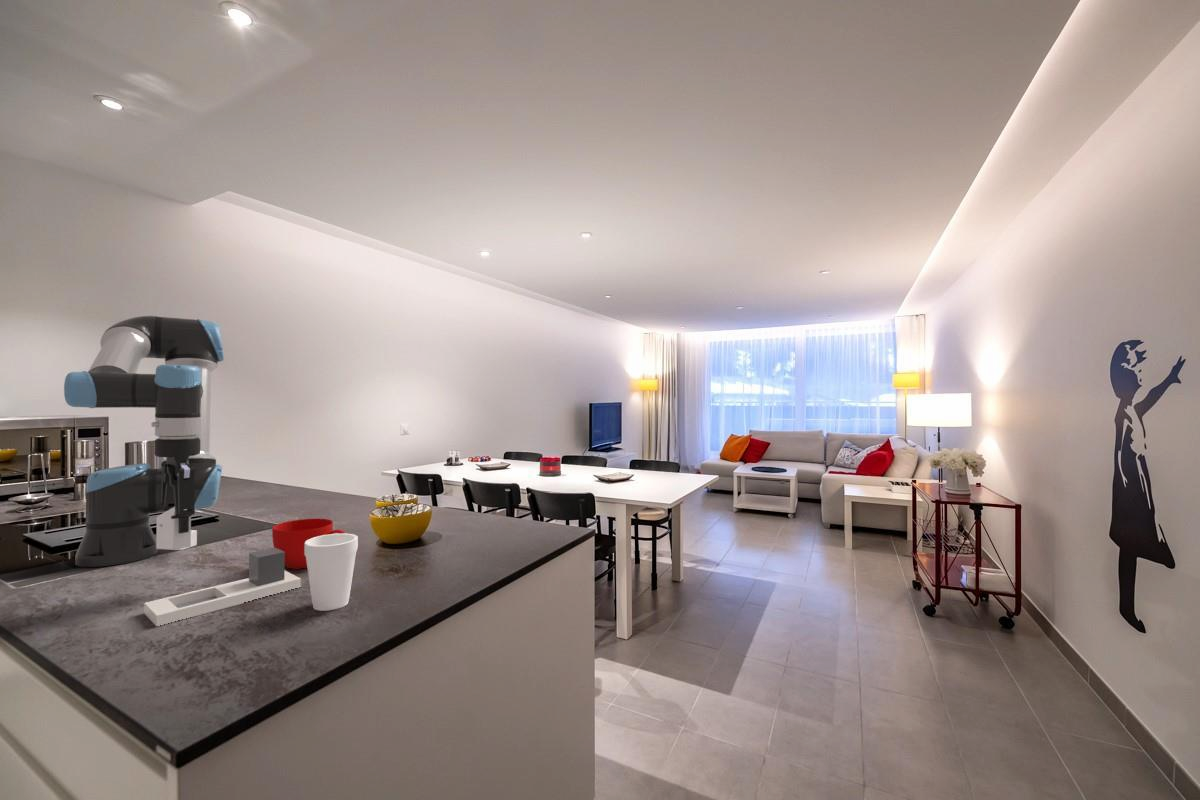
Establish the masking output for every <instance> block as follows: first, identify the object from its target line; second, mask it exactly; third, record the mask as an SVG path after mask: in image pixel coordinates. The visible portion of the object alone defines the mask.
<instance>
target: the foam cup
mask: <svg viewBox="0 0 1200 800" xmlns="http://www.w3.org/2000/svg"><path fill="white" fill-rule="evenodd" d="M358 542H359V536H358V535H356V534H354V533H345V532H344V533H343V534H340V533H334V534H329V535H322V536H318V537H314V538H311V539H309V540H307V541H306V542H305V549H304V555H305V556H306V561H307V568H306V569H307V574H308V581H309V582H308V583H309V589H310V597H311V602H312V608H313V610H315V611H321V612H323V611H324V612H325V611H327V612H328V611H334V610H338V609H341V608H343V607H345V606H346V605H348V604H349V601H350V595H351V591H352V590H351V587H352V583H353V582H352V581H353V575H354V569H355V563H356V561H355V560H356V556H357V555H356V554H357V551H358V547H359V543H358Z"/></svg>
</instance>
